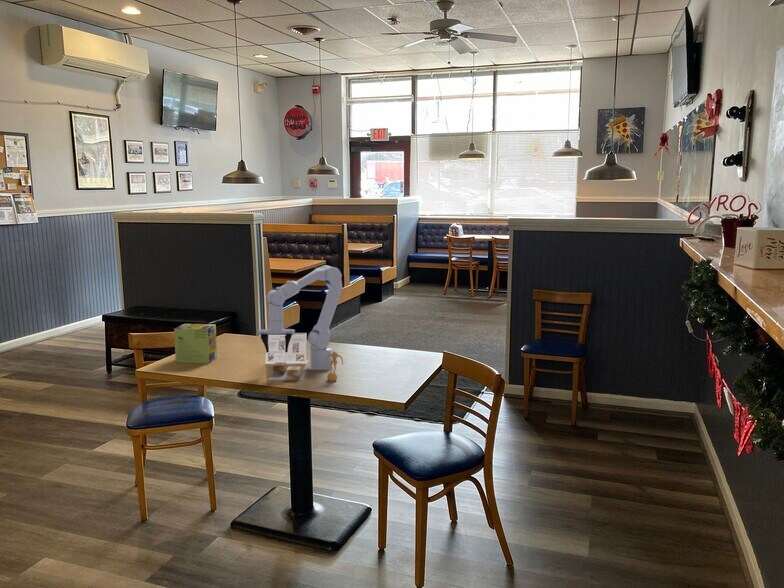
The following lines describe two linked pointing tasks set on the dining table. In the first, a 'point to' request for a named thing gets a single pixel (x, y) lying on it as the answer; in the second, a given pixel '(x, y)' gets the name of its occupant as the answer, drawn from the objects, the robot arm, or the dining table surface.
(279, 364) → the walnut block
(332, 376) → the figurine
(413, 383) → the dining table surface
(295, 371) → the oak block
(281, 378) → the mat
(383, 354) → the dining table surface
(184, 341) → the protein box
